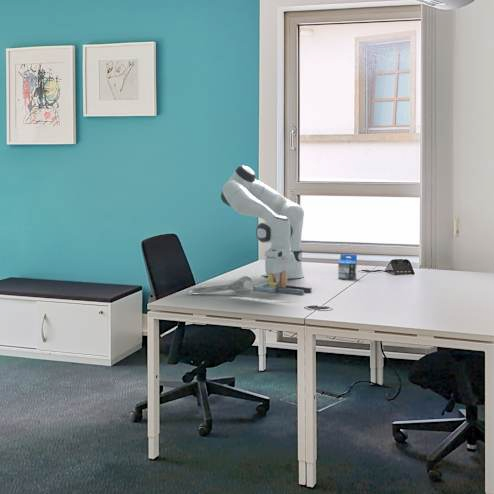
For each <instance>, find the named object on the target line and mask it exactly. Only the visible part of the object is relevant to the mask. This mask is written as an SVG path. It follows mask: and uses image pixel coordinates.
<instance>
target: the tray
mask: <svg viewBox="0 0 494 494" xmlns="http://www.w3.org/2000/svg"><path fill="white" fill-rule="evenodd" d="M252 289H253V291H259V292H266V293H267V292H268V293H276V291H275V289H273V288H269V283H268V282H267V283H262V284H258V285H255V286H253V287H252Z"/></svg>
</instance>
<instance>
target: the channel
mask: <svg viewBox="0 0 494 494" xmlns="http://www.w3.org/2000/svg"><path fill="white" fill-rule="evenodd" d="M312 289H313V288H312V287H307V286H298V285H292V284H291V285H290V284H286V288H282V287H276V291H275V293H278V294H279V293H280V294H286V295H287V294H288V295H296V296H304V295H307V294H311V293H313V290H312Z"/></svg>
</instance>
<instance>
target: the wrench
mask: <svg viewBox="0 0 494 494" xmlns="http://www.w3.org/2000/svg"><path fill="white" fill-rule="evenodd" d="M246 282H250V283H253V279H252V278H251V277H250V276H247V275H243V276H241V277H240V278H238V279H236V280H234V281H232V282H229V283H223V284H216V285H215V284H214V285H205V286H198V287H190V288H188V289H187V290H186V294H187V293H189V290H192V293H203V294H209V293H216V292H223V291H234V292H250V291H251V287H247V286H245V285H244V283H246Z"/></svg>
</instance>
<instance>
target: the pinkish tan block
mask: <svg viewBox="0 0 494 494" xmlns="http://www.w3.org/2000/svg"><path fill="white" fill-rule="evenodd" d="M283 268H285V267H283ZM283 268H282V269H283ZM279 277H280V278H281V282H277V287H282V288H286V285H287V283H286V270H283V271H282V272H280V275H279Z"/></svg>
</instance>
